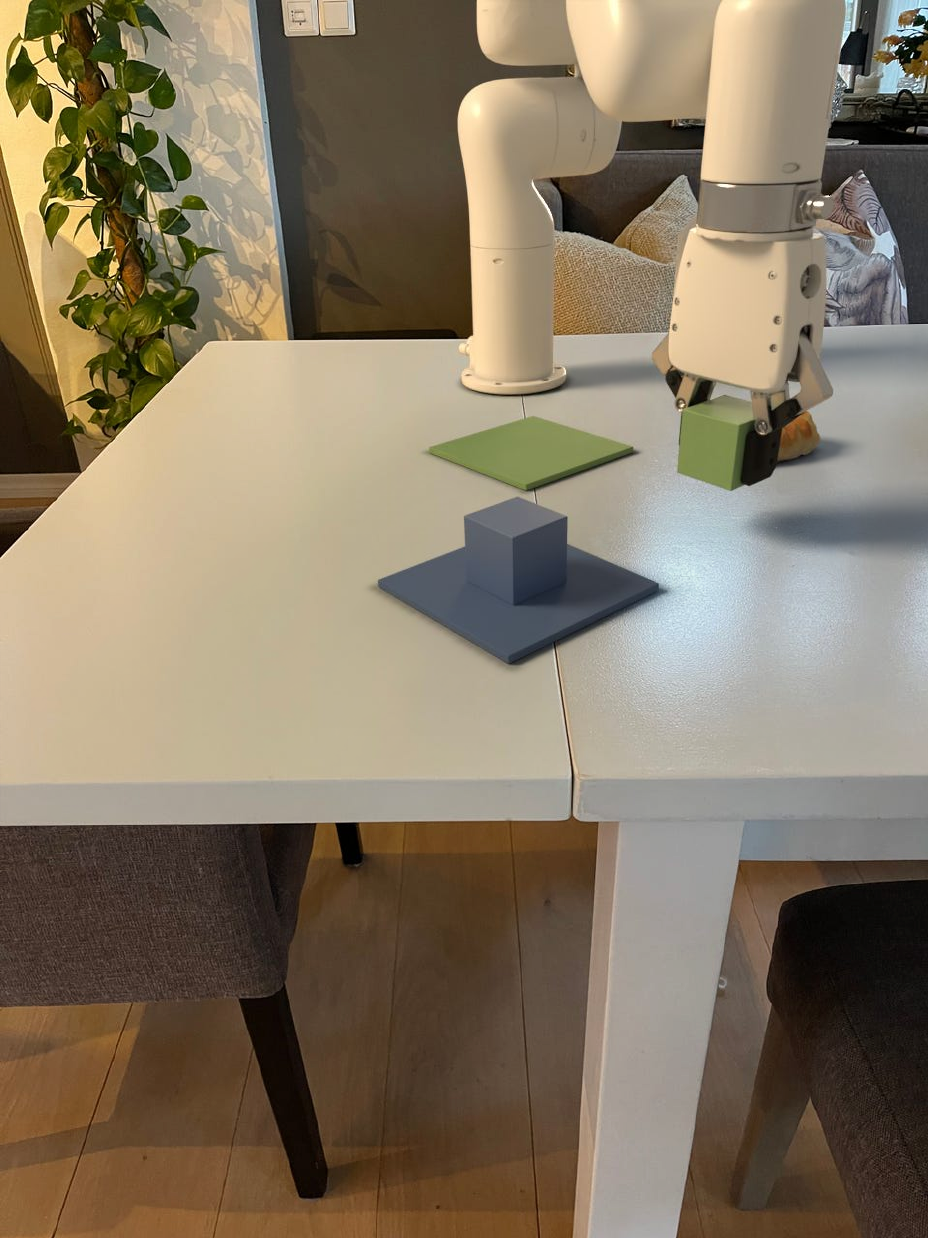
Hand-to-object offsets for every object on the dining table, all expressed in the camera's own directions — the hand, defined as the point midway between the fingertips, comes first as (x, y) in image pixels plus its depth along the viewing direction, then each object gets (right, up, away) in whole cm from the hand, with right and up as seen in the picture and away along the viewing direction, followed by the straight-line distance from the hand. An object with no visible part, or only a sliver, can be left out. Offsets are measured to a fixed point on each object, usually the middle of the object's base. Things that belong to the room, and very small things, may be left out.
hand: (724, 467), depth 70 cm
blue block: (-16, -9, -5) cm, 19 cm away
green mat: (-13, +5, +20) cm, 24 cm away
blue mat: (-16, -9, -5) cm, 19 cm away
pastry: (+9, +4, +17) cm, 20 cm away
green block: (0, 0, 0) cm, 0 cm away
